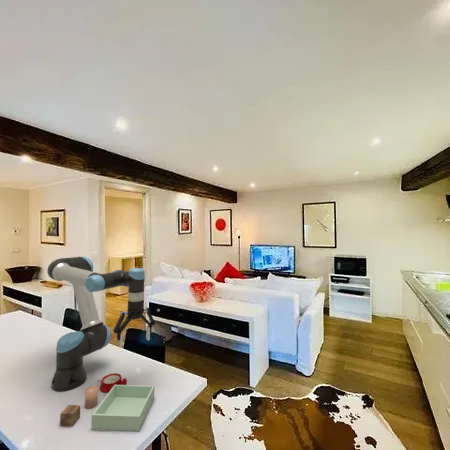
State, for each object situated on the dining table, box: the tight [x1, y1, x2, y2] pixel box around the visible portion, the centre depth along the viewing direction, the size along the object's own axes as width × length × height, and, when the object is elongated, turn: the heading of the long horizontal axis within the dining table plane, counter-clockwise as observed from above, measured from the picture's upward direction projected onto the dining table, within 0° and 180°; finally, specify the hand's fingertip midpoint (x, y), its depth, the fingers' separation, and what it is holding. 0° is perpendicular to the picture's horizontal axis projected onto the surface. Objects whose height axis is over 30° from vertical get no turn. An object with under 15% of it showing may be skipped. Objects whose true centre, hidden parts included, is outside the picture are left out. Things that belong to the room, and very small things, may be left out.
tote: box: [90, 384, 156, 432], centre depth 109 cm, size 19×20×6 cm
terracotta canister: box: [84, 385, 99, 410], centre depth 114 cm, size 5×5×7 cm
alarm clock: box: [97, 373, 128, 394], centre depth 126 cm, size 10×6×15 cm
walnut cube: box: [59, 404, 81, 428], centre depth 104 cm, size 5×5×5 cm
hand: (134, 342), depth 128 cm, fingers open, 13 cm apart
